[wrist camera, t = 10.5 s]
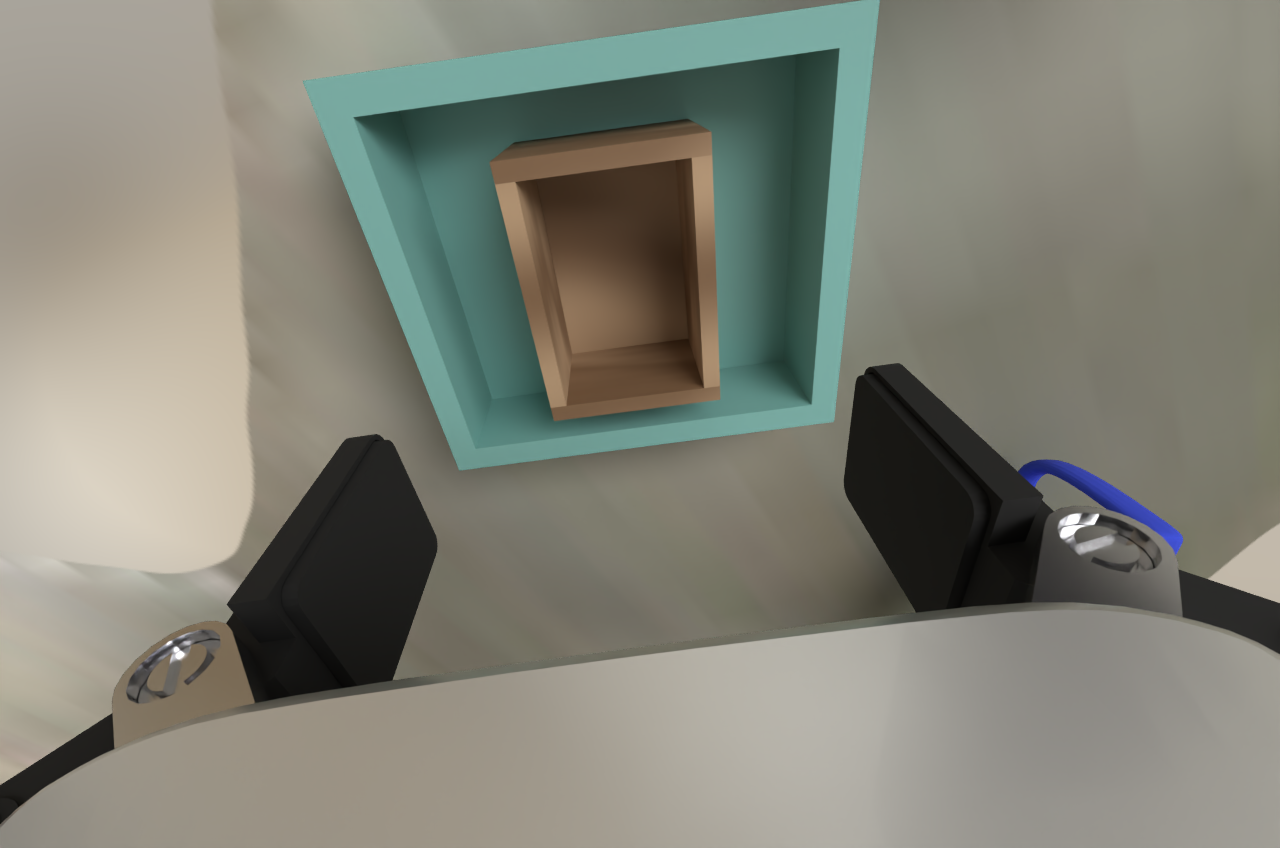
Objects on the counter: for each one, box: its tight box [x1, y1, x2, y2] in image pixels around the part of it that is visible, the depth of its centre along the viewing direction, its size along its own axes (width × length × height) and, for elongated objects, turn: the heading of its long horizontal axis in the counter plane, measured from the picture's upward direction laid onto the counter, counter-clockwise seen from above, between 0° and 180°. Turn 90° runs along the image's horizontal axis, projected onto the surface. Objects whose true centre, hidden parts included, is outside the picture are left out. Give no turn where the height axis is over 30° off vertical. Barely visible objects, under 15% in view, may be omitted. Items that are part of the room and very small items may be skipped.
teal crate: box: [303, 0, 880, 471], centre depth 20 cm, size 14×16×5 cm
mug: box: [1018, 460, 1183, 555], centre depth 28 cm, size 8×12×10 cm
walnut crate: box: [489, 119, 720, 421], centre depth 20 cm, size 9×6×5 cm
